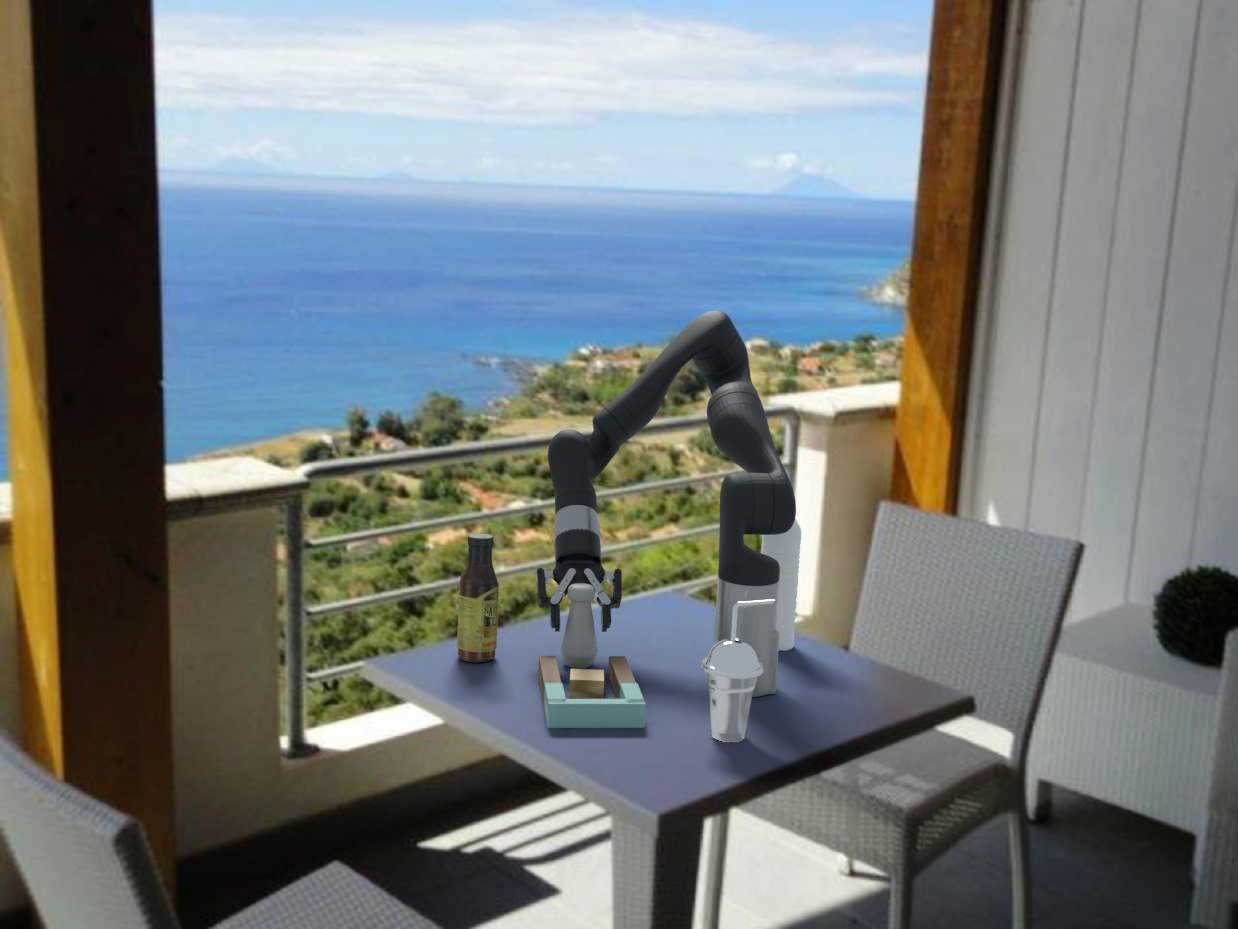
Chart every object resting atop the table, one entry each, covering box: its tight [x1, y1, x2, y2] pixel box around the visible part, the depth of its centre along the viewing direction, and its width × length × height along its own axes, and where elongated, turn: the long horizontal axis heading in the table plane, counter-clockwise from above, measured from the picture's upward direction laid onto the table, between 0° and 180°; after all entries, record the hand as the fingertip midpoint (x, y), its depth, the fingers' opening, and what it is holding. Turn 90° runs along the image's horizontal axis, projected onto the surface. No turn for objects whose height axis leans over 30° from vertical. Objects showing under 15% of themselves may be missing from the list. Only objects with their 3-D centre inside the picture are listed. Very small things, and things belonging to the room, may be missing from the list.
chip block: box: [568, 668, 605, 699], centre depth 194 cm, size 5×5×3 cm
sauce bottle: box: [456, 533, 500, 664], centre depth 206 cm, size 7×6×20 cm
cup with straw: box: [700, 599, 775, 744], centre depth 177 cm, size 8×9×20 cm
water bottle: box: [760, 518, 802, 652], centre depth 218 cm, size 9×6×25 cm
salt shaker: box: [560, 583, 599, 669], centre depth 206 cm, size 6×6×13 cm
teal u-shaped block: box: [543, 682, 646, 729], centre depth 184 cm, size 13×8×4 cm, turn 97°
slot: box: [537, 655, 637, 705], centre depth 195 cm, size 13×14×3 cm
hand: (581, 629), depth 204 cm, fingers open, 7 cm apart
